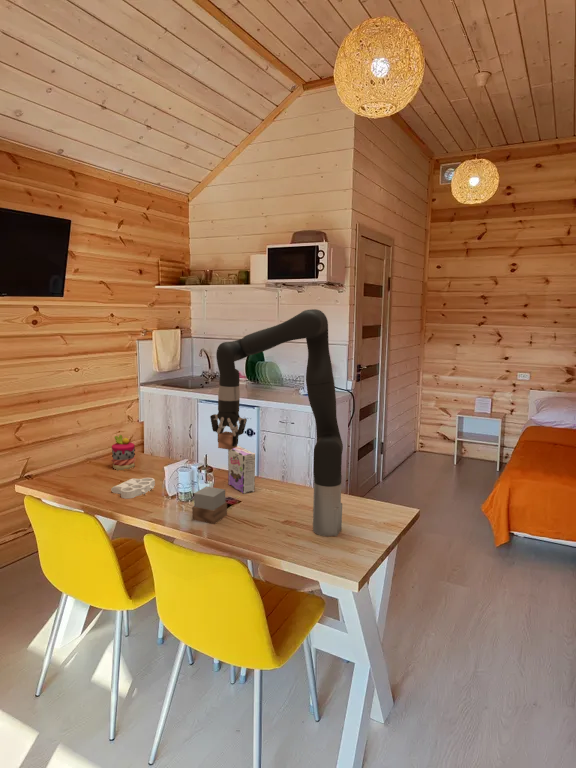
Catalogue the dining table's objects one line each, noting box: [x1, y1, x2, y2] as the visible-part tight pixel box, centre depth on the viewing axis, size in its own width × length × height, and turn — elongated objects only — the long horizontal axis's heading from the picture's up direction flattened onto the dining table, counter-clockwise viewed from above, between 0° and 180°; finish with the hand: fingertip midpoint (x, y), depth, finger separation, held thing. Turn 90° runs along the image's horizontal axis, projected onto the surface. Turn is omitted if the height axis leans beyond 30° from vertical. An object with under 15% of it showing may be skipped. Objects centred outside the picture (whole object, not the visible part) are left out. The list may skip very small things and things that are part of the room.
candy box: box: [227, 445, 256, 494], centre depth 215 cm, size 14×6×16 cm, turn 33°
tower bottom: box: [191, 501, 228, 525], centre depth 184 cm, size 9×9×5 cm
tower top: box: [193, 486, 226, 510], centre depth 184 cm, size 8×8×5 cm
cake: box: [110, 434, 137, 471], centre depth 240 cm, size 10×11×15 cm
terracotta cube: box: [217, 430, 238, 451], centre depth 183 cm, size 5×5×5 cm
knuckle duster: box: [110, 477, 156, 499], centre depth 210 cm, size 3×18×15 cm
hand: (227, 444), depth 183 cm, fingers closed on terracotta cube, 5 cm apart
